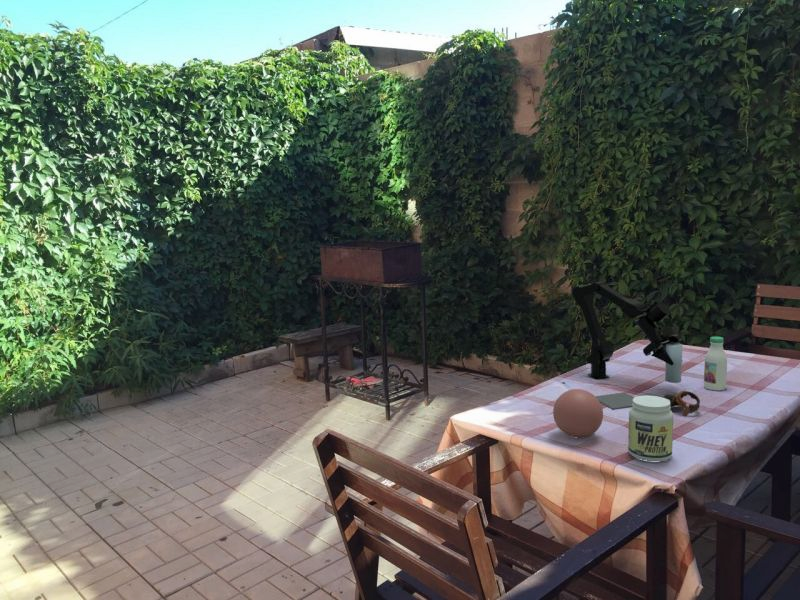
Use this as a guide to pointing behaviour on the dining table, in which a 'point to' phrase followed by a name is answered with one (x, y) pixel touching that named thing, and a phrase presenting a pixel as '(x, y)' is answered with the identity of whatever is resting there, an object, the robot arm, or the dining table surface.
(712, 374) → the milk bottle
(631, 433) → the supplement tub
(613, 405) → the coaster mat
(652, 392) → the dining table surface
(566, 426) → the brown rubber ball
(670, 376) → the tumbler
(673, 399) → the brown black curved piece
